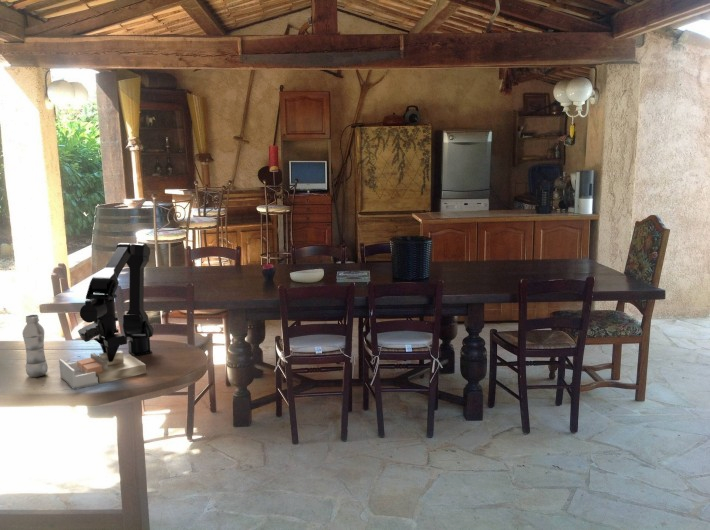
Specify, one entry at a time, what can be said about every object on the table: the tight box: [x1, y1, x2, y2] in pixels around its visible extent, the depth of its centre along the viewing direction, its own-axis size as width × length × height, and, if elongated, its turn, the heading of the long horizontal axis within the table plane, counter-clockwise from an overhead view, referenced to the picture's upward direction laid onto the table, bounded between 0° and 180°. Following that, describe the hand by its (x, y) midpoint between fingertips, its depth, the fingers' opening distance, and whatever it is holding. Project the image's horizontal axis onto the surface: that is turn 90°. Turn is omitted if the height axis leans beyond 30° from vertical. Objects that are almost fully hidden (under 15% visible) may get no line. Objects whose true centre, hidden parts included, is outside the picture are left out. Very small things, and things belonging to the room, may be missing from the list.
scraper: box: [90, 350, 125, 370], centre depth 209 cm, size 8×12×4 cm
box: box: [58, 358, 99, 390], centre depth 203 cm, size 7×14×6 cm, turn 40°
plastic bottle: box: [22, 314, 49, 378], centre depth 206 cm, size 6×7×20 cm
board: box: [95, 353, 147, 385], centre depth 211 cm, size 15×14×3 cm
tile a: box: [76, 357, 96, 370], centre depth 207 cm, size 4×4×2 cm
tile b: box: [83, 362, 103, 374], centre depth 203 cm, size 4×4×2 cm
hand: (109, 360), depth 209 cm, fingers closed on scraper, 2 cm apart
